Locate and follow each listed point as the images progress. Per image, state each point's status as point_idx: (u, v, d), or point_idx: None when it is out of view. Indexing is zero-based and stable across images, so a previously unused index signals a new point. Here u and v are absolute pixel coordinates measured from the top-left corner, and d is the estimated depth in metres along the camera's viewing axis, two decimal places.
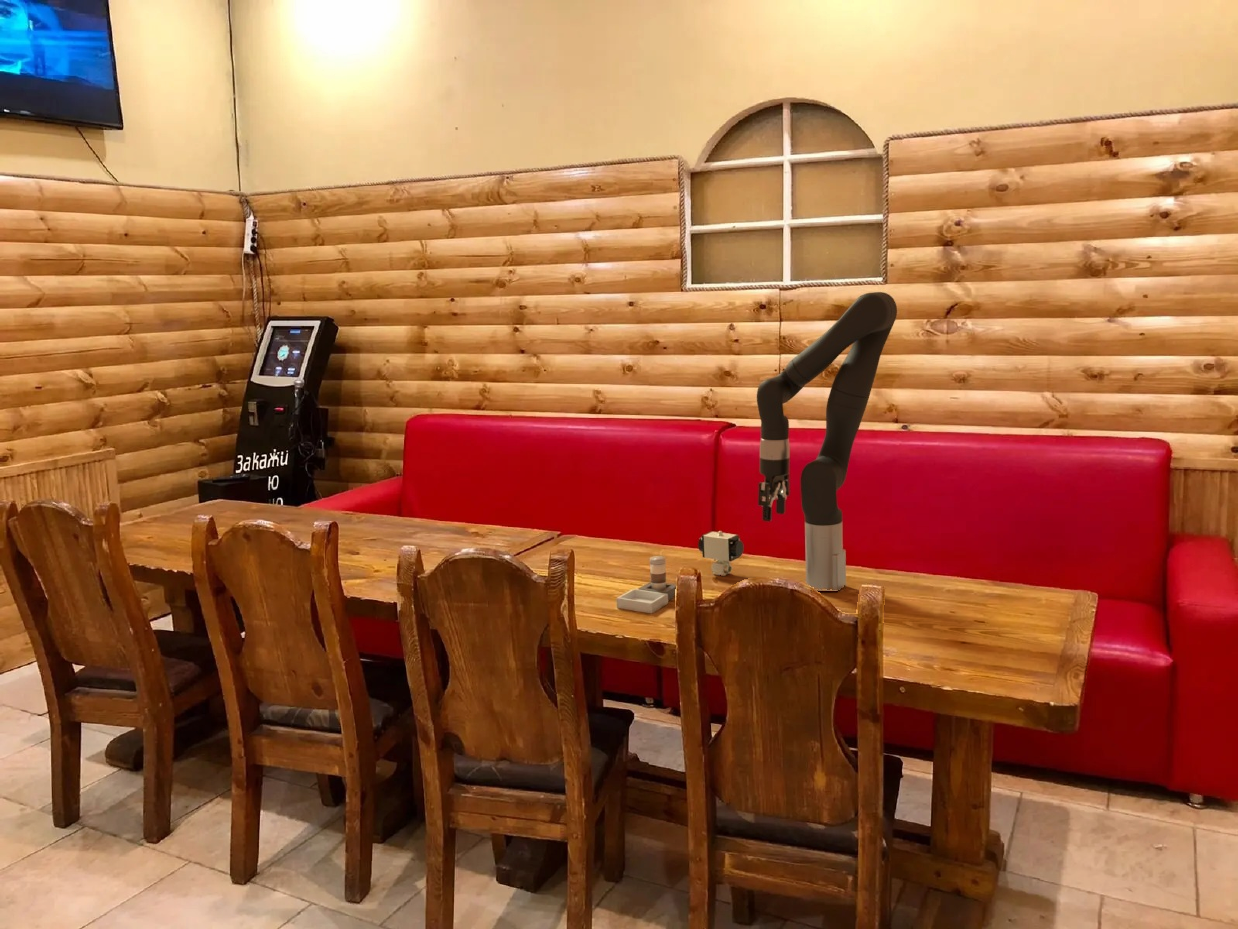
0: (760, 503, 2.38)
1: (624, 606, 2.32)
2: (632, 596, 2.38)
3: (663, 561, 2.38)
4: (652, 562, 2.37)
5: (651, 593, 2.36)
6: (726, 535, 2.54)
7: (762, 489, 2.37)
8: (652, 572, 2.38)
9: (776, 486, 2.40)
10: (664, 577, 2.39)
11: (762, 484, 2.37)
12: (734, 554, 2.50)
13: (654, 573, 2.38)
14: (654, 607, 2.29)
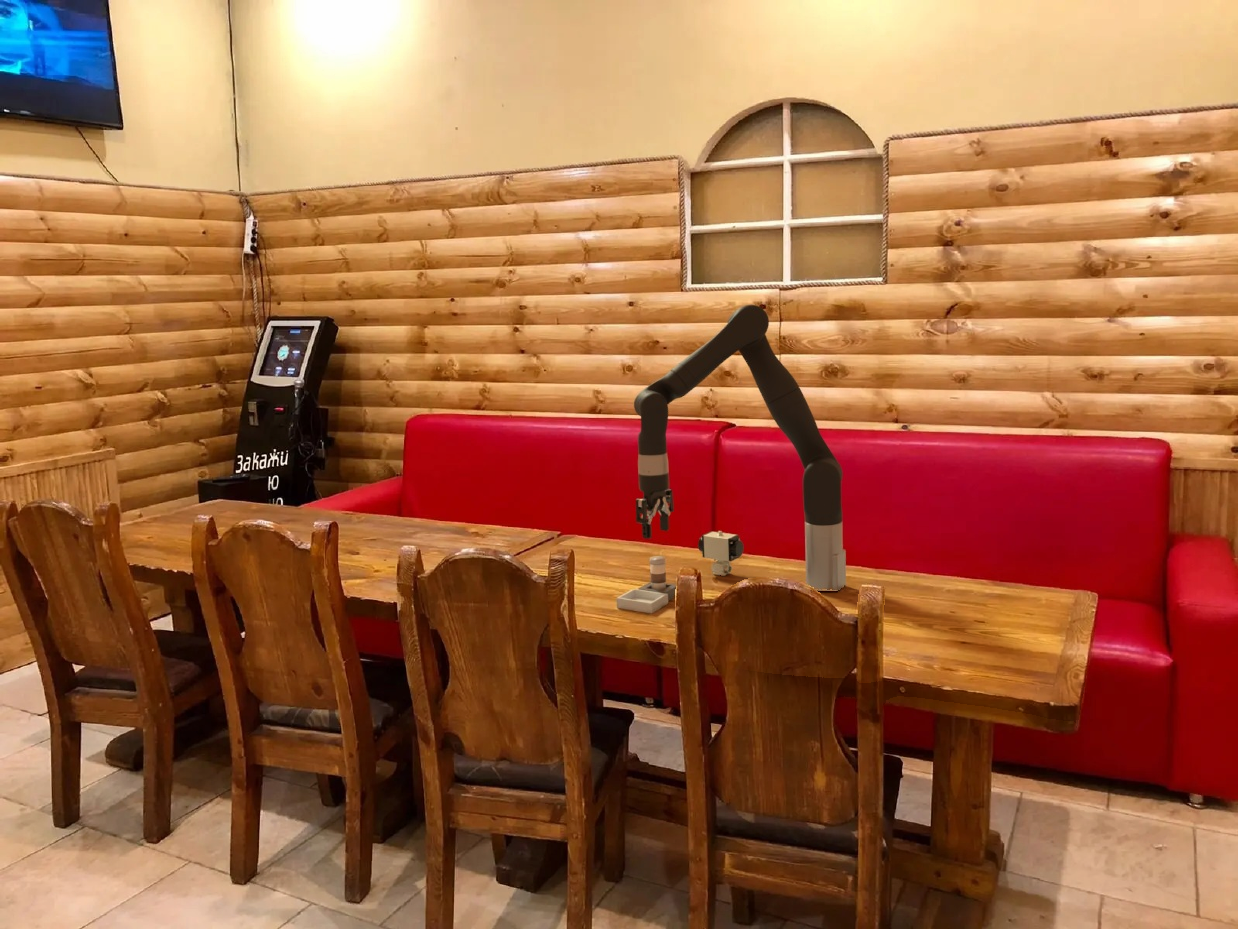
0: (638, 520, 2.31)
1: (624, 606, 2.32)
2: (632, 596, 2.38)
3: (663, 561, 2.38)
4: (652, 562, 2.37)
5: (651, 593, 2.36)
6: (726, 535, 2.54)
7: (639, 506, 2.31)
8: (652, 572, 2.38)
9: (655, 502, 2.33)
10: (664, 577, 2.39)
11: (639, 501, 2.31)
12: (734, 554, 2.50)
13: (654, 573, 2.38)
14: (654, 607, 2.29)
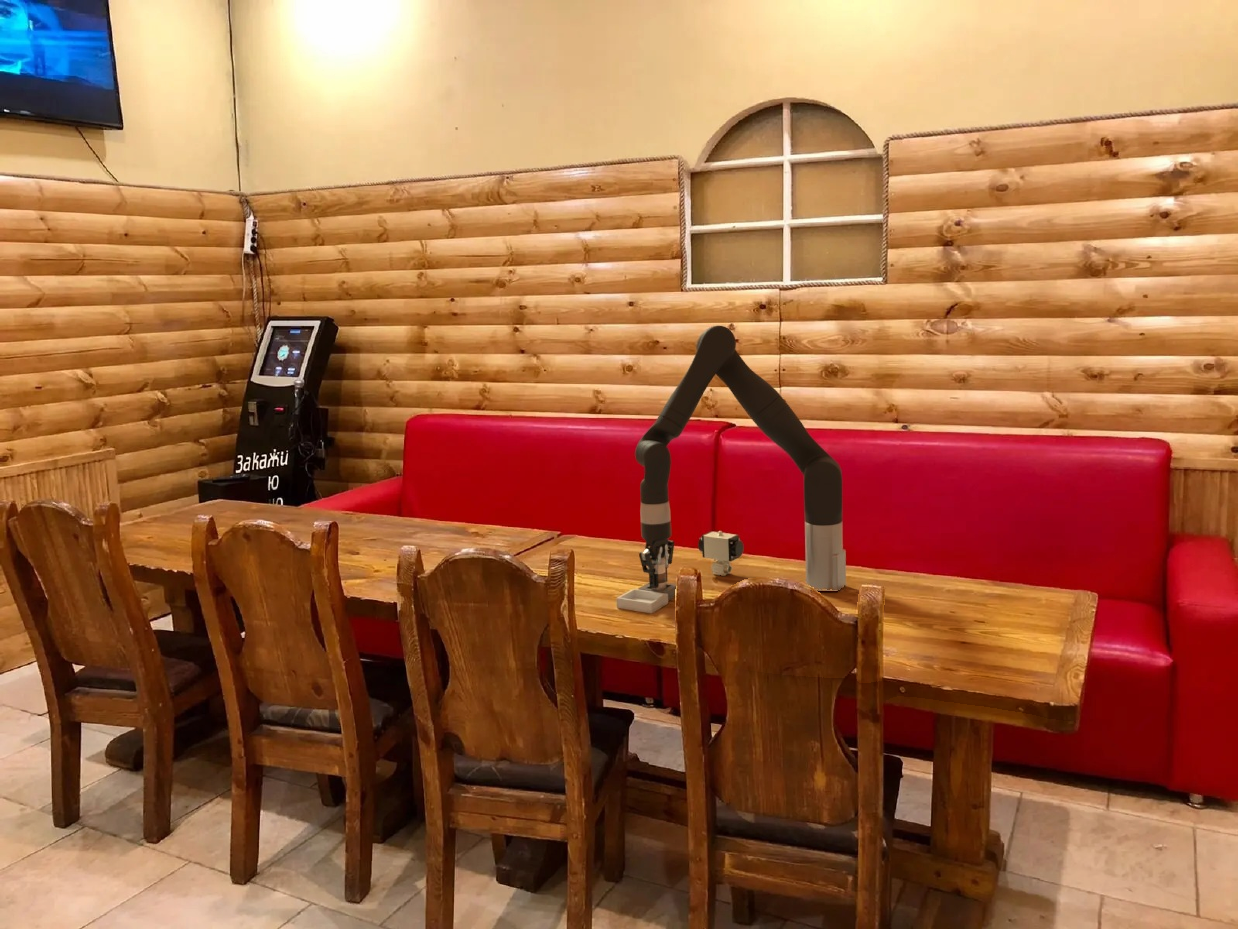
0: (645, 570, 2.35)
1: (624, 606, 2.32)
2: (632, 596, 2.38)
3: (663, 561, 2.38)
4: None
5: (651, 593, 2.36)
6: (726, 535, 2.54)
7: (643, 559, 2.34)
8: None
9: (658, 552, 2.36)
10: (664, 577, 2.39)
11: (642, 555, 2.33)
12: (734, 554, 2.50)
13: None
14: (654, 607, 2.29)
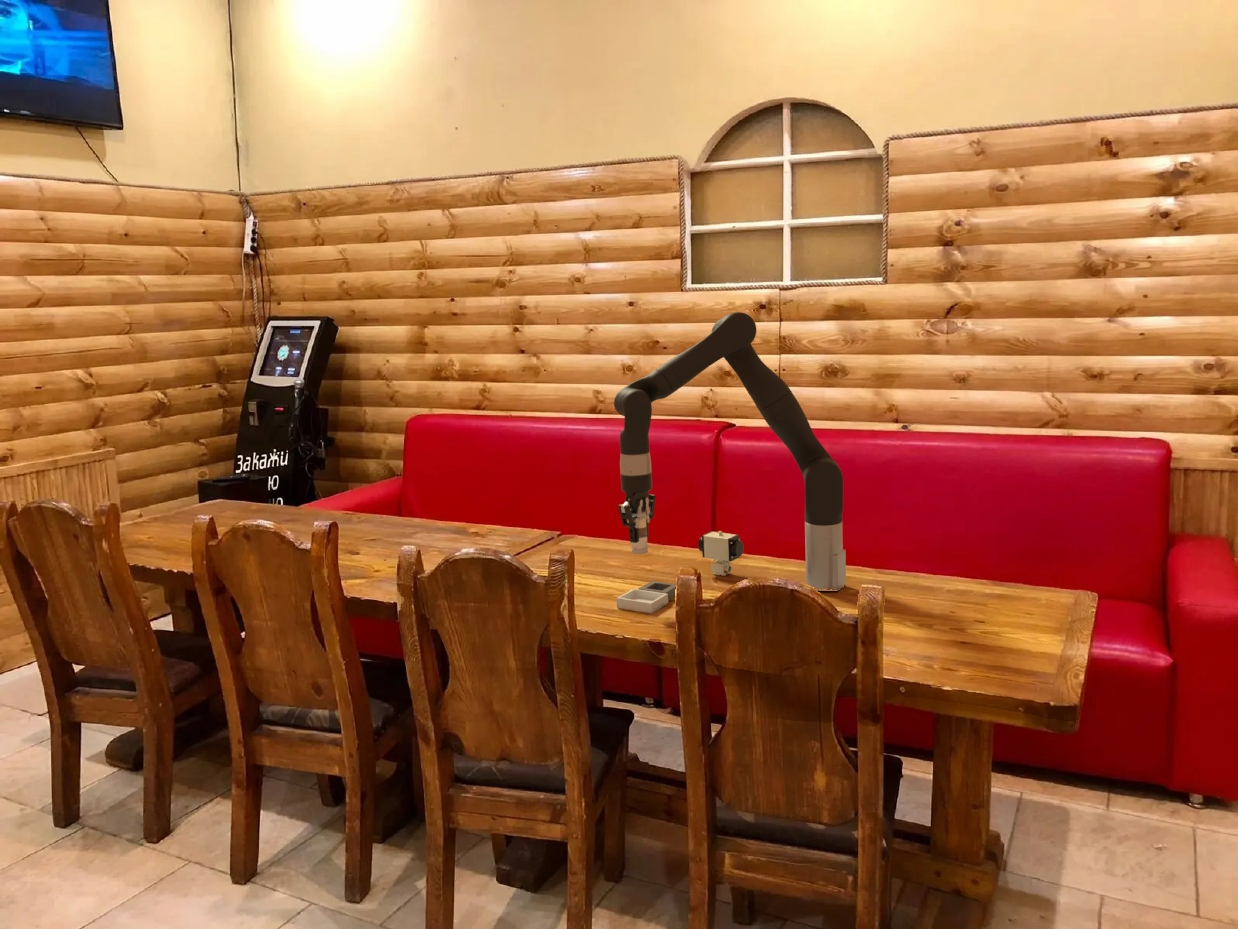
0: (625, 524, 2.26)
1: (624, 606, 2.32)
2: (632, 596, 2.38)
3: (644, 515, 2.29)
4: None
5: (651, 593, 2.36)
6: (726, 535, 2.54)
7: (623, 512, 2.25)
8: None
9: (638, 504, 2.27)
10: (645, 531, 2.30)
11: (621, 507, 2.24)
12: (734, 554, 2.50)
13: None
14: (654, 607, 2.29)
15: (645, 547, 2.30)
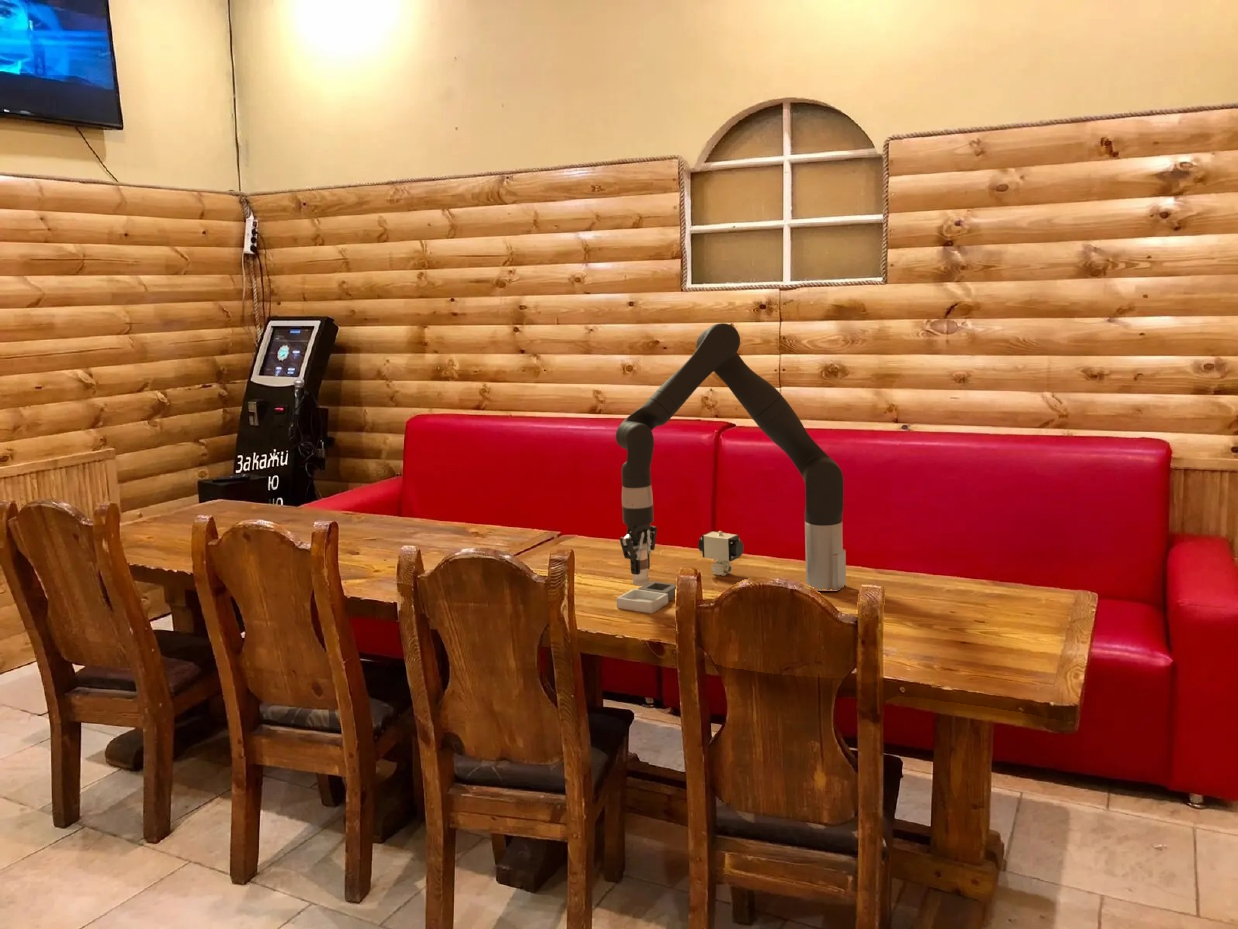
0: (626, 556, 2.28)
1: (624, 606, 2.32)
2: (632, 596, 2.38)
3: (645, 547, 2.30)
4: None
5: (651, 593, 2.36)
6: (726, 535, 2.54)
7: (624, 545, 2.26)
8: None
9: (640, 537, 2.28)
10: (646, 563, 2.31)
11: (623, 540, 2.26)
12: (734, 554, 2.50)
13: None
14: (654, 607, 2.29)
15: (646, 579, 2.32)
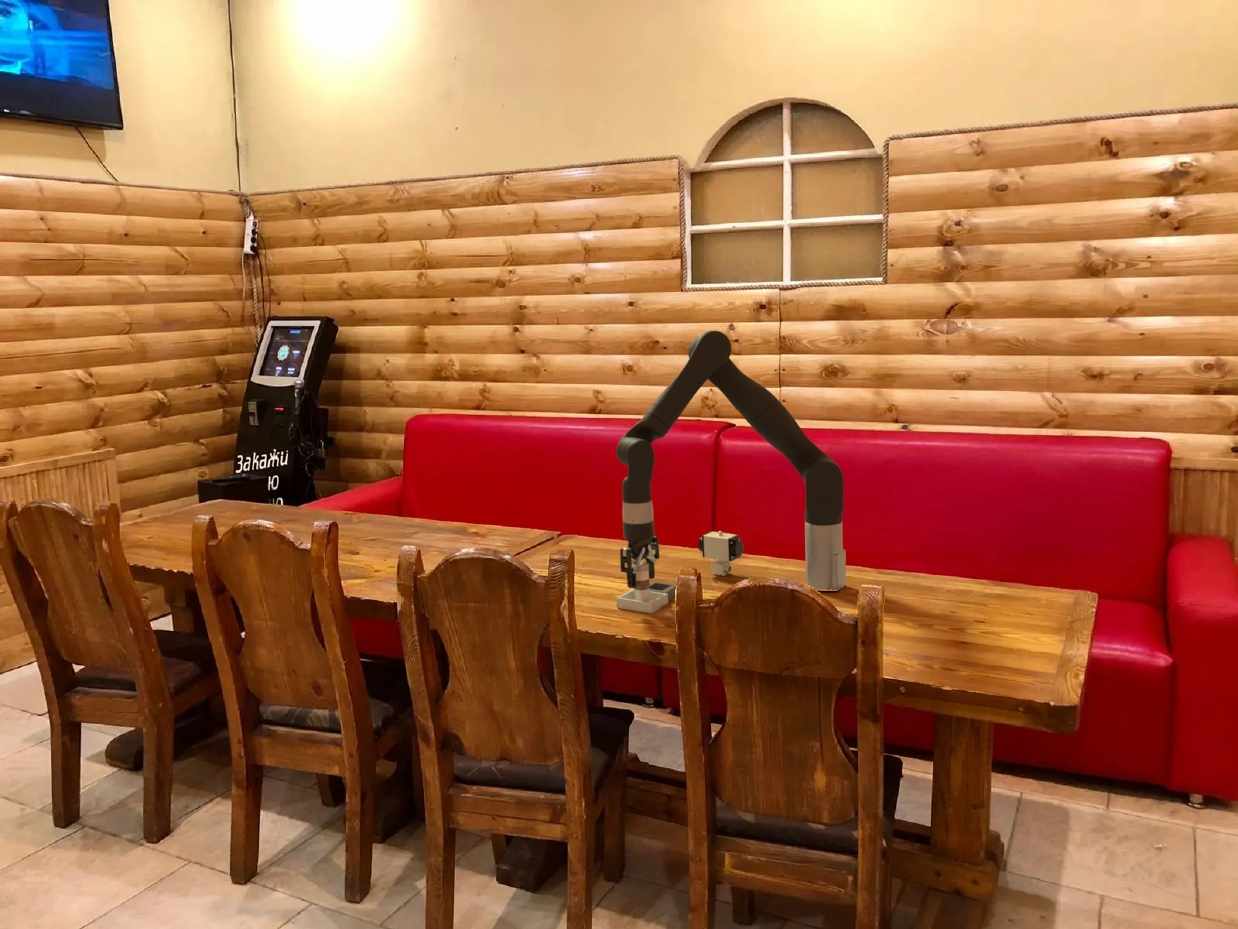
0: (622, 570, 2.27)
1: (624, 606, 2.32)
2: (632, 596, 2.38)
3: (646, 567, 2.31)
4: None
5: (651, 593, 2.36)
6: (726, 535, 2.54)
7: (624, 555, 2.26)
8: None
9: (640, 551, 2.29)
10: (648, 584, 2.32)
11: (623, 550, 2.26)
12: (734, 554, 2.50)
13: (637, 579, 2.31)
14: (654, 607, 2.29)
15: (648, 599, 2.32)
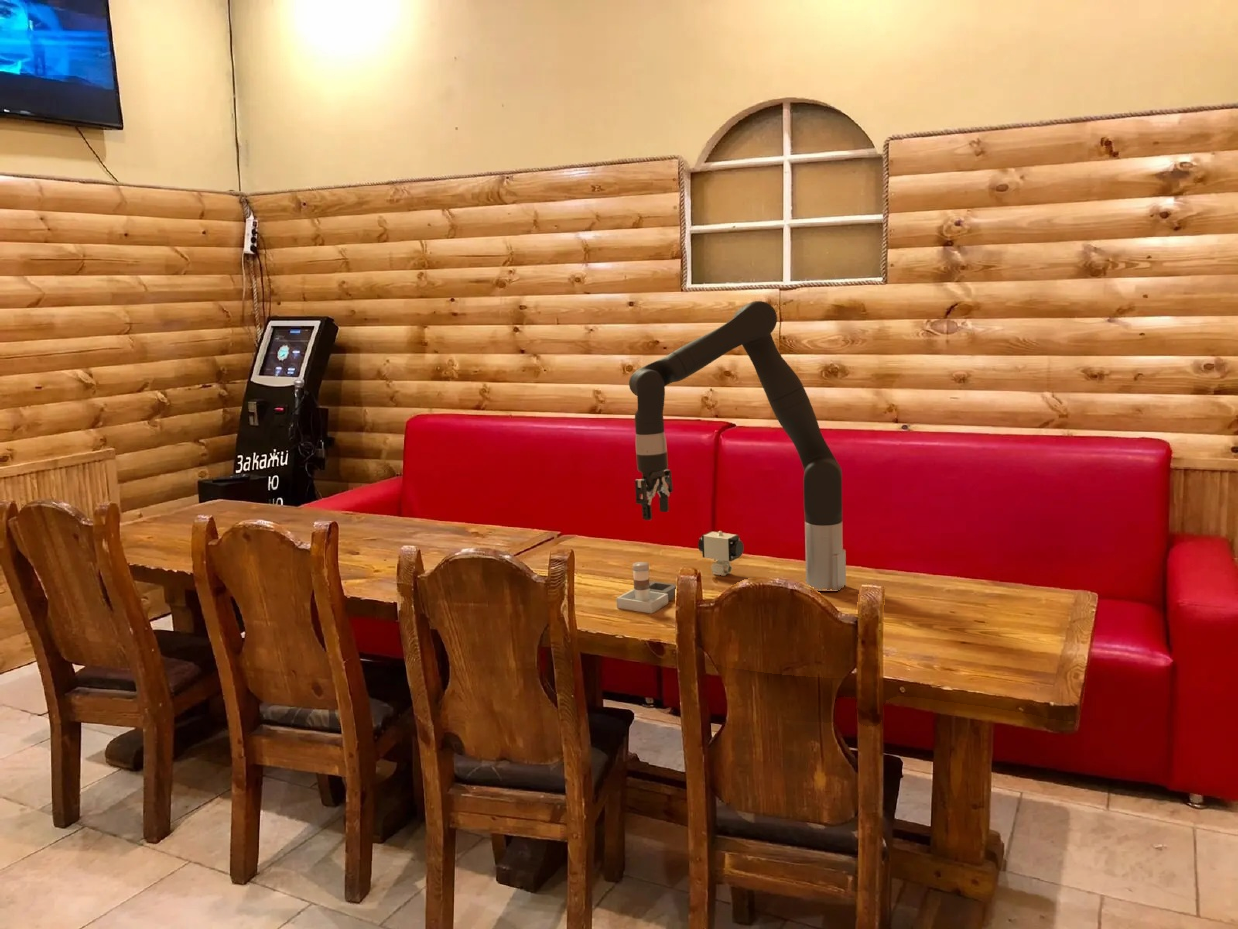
0: (638, 501, 2.27)
1: (624, 606, 2.32)
2: (632, 596, 2.38)
3: (646, 567, 2.31)
4: (635, 568, 2.31)
5: (651, 593, 2.36)
6: (726, 535, 2.54)
7: (639, 486, 2.26)
8: (635, 578, 2.32)
9: (654, 483, 2.29)
10: (648, 584, 2.32)
11: (638, 481, 2.26)
12: (734, 554, 2.50)
13: (637, 579, 2.31)
14: (654, 607, 2.29)
15: (648, 599, 2.32)
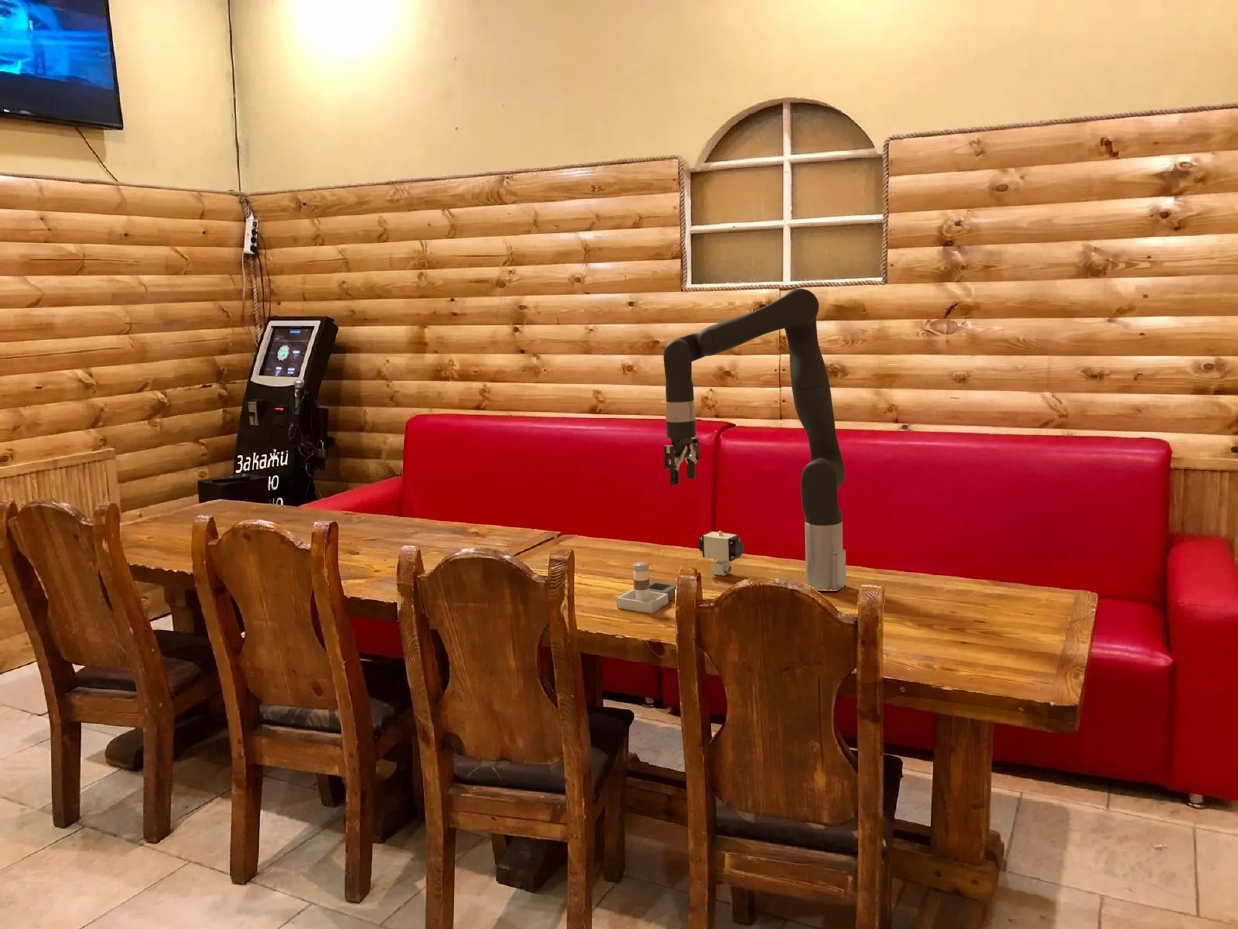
0: (666, 466, 2.35)
1: (624, 606, 2.32)
2: (632, 596, 2.38)
3: (646, 567, 2.31)
4: (635, 568, 2.31)
5: (651, 593, 2.36)
6: (726, 535, 2.54)
7: (667, 452, 2.35)
8: (635, 578, 2.32)
9: (683, 449, 2.37)
10: (648, 584, 2.32)
11: (667, 447, 2.34)
12: (734, 554, 2.50)
13: (637, 579, 2.31)
14: (654, 607, 2.29)
15: (648, 599, 2.32)
